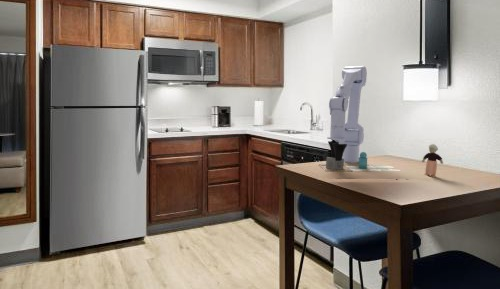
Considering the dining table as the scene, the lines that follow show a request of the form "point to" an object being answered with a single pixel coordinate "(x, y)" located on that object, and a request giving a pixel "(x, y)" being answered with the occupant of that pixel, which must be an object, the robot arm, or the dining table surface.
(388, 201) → the dining table surface
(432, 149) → the grandmother figurine
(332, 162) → the grey symbol block
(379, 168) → the board
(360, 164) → the pawn
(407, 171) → the dining table surface
